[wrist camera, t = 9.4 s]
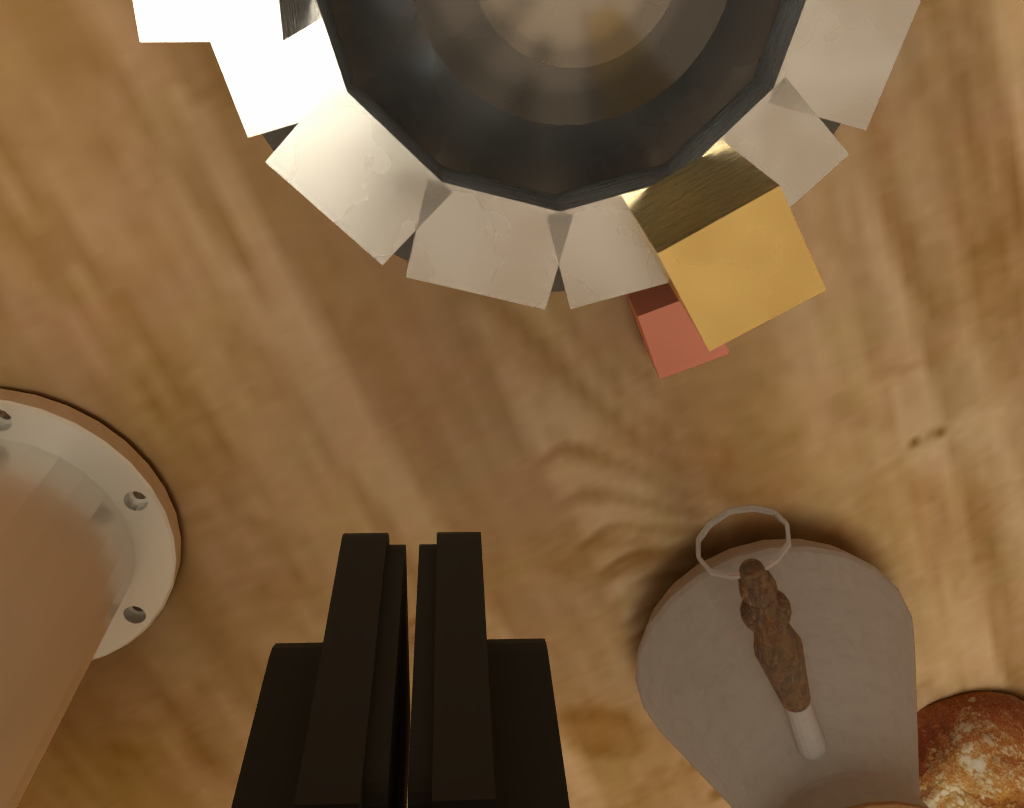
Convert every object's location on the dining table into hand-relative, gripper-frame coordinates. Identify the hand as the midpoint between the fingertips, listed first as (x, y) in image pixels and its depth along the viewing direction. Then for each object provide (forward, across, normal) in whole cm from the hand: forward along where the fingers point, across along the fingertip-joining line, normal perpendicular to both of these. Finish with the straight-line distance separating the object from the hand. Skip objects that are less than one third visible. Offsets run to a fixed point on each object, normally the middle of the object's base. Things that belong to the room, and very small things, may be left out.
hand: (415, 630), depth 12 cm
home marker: (+22, -8, +4) cm, 24 cm away
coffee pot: (+23, -12, +14) cm, 29 cm away
